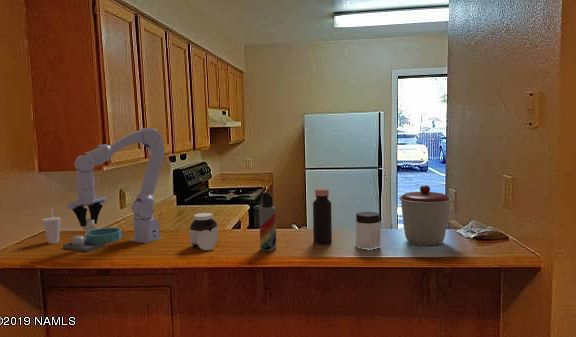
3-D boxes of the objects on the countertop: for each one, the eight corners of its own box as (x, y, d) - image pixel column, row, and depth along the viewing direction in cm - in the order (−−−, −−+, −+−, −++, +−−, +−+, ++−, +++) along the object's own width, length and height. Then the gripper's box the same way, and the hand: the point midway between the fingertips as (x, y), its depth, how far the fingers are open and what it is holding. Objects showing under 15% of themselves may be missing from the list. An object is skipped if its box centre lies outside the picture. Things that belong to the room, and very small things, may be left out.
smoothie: (54, 245, 162) (51, 209, 161) (40, 245, 163) (37, 209, 162) (66, 241, 168) (63, 206, 167) (52, 240, 170) (49, 206, 168)
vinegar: (322, 246, 153) (322, 191, 151) (309, 242, 158) (308, 189, 156) (335, 242, 158) (335, 189, 156) (322, 239, 163) (321, 187, 161)
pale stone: (97, 228, 157) (96, 219, 156) (87, 230, 153) (87, 221, 153) (90, 227, 159) (89, 218, 158) (80, 229, 155) (79, 220, 155)
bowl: (128, 237, 171) (128, 229, 171) (101, 246, 160) (100, 236, 160) (106, 234, 177) (106, 226, 177) (78, 242, 166) (77, 233, 166)
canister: (388, 240, 159) (388, 184, 157) (423, 233, 168) (423, 180, 166) (426, 252, 143) (426, 190, 141) (462, 244, 152) (463, 185, 150)
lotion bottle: (264, 252, 147) (262, 195, 145) (257, 248, 152) (256, 193, 150) (279, 250, 149) (277, 194, 147) (272, 246, 154) (270, 192, 152)
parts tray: (104, 247, 158) (104, 243, 157) (87, 253, 151) (86, 248, 151) (80, 243, 164) (80, 240, 164) (63, 248, 157) (62, 244, 157)
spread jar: (207, 241, 164) (205, 211, 163) (228, 245, 158) (227, 214, 156) (183, 248, 154) (181, 217, 153) (204, 253, 148) (203, 220, 147)
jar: (382, 250, 147) (382, 216, 146) (359, 251, 146) (358, 216, 145) (376, 243, 156) (376, 211, 154) (354, 244, 155) (353, 211, 154)
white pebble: (86, 245, 160) (86, 236, 159) (77, 248, 156) (76, 238, 156) (79, 244, 162) (79, 235, 161) (70, 247, 158) (69, 237, 158)
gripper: (95, 185, 163) (98, 220, 164) (60, 190, 150) (63, 228, 151) (108, 186, 160) (110, 221, 161) (73, 191, 147) (76, 230, 148)
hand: (88, 225), depth 156 cm, fingers closed on pale stone, 4 cm apart
